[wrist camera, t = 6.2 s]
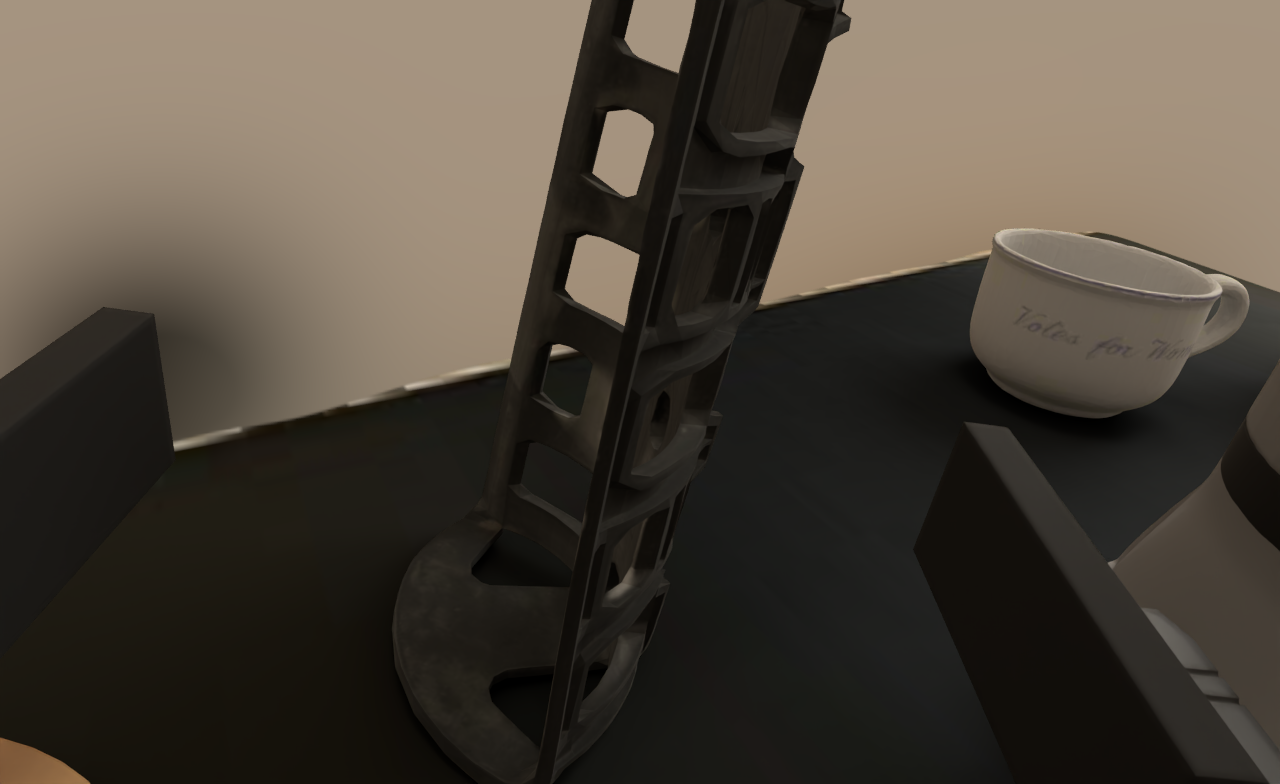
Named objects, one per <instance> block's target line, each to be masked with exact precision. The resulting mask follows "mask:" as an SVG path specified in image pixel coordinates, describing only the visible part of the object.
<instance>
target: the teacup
mask: <svg viewBox="0 0 1280 784" xmlns="http://www.w3.org/2000/svg"><path fill="white" fill-rule="evenodd" d="M1220 296H1221V304H1220V307H1219V309H1218V311H1217V313H1216V314H1215V316H1214V317H1213V318H1212V319H1211V320H1210V321H1209V322H1208V323H1207V324H1206V325H1204V323H1205V320H1206V318H1207V316H1208V314H1209V312H1210V309H1211V307H1212V305H1213V304H1214V302H1215V301H1216V300H1217V299H1218V298H1219V297H1220ZM1249 303H1250V302H1249V296H1248V293H1247V290H1246V288H1245V287H1244V286H1243V285H1242V284H1240V283H1239V282H1238V281H1237V280H1234V279H1232V278H1230V277H1227V276H1224V275H1221V274H1208V275H1206V274H1204V273H1202V272H1201V271H1199V270H1197V269H1195V268H1192V267H1190V266H1187V265H1185V264H1183V263H1181V262H1178V261H1175V260H1172V259H1170V258H1168V257H1166V256H1161V255H1158V254H1155V253H1152V252H1149V251H1146V250H1143V249H1139V248H1136V247H1132V246H1126V245H1123V244H1120V243H1116V242H1112V241H1108V240H1103V239H1097V238H1093V237H1088V236H1082V235H1078V234H1073V233H1066V232H1060V231H1052V230H1042V229H1028V228H1025V229H1018V228H1017V229H1006V230H1002V231H999V232H997V233H996V234H995V235H994V237H993V248H992V252H991V255H990V258H989V261H988V264H987V267H986V270H985V273H984V276H983V279H982V282H981V285H980V289H979V292H978V296H977V299H976V303H975V306H974V310H973V314H972V318H971V324H970V340H971V345H972V348H973V350H974V353H975V354H976V356H977V358H978V359H979V360H980V362H981V363H982V364H983V365H984V366H985V368H986V369H987V372H988V375H989V376H990V377H991V379H992V380H993V381H994V382H995V383H996V384H997V385H998V386H999V387H1000V388H1001V389H1003V390H1004V391H1006V392H1007V393H1009V394H1011V395H1012V396H1014V397H1016V398H1018V399H1020V400H1022V401H1024V402H1027V403H1029V404H1031V405H1034V406H1037V407H1040V408H1043V409H1046V410H1049V411H1053V412H1056V413H1060V414H1064V415H1070V416H1076V417H1084V418H1106V417H1111V416H1114V415H1117V414H1120V413H1121V412H1123V411H1127V410H1132V409H1136V408H1140V407H1143V406H1145V405H1148V404H1150V403H1152V402H1154V401H1156V400H1157V399H1159V398H1160V397H1161V396H1162V395H1163V394H1164V393H1165V392H1166V391H1167V390H1168V389H1169V388H1170V387H1171V385H1172V384H1173V383H1174V381H1175V380H1176V378H1177V376H1178V375H1179V373H1180V371H1181V369H1182V367H1183V366H1184V364H1185V362H1186V360H1187V358H1189V357H1192V356H1194V355H1197V354H1199V353H1202V352H1205V351H1207V350H1209V349H1211V348H1213V347H1215V346H1217V345H1219V344H1221V343H1223V342H1224V341H1225V340H1227V339H1228V338H1229V337H1231V336H1232V335H1233V334H1234V333H1235V332H1236V331H1237V330H1238V329H1239V328H1240V326H1241V325H1242V323H1243V321H1244V320H1245V318H1246V315H1247V312H1248V308H1249ZM1203 325H1204V326H1203Z"/></svg>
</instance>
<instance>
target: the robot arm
mask: <svg viewBox="0 0 1280 784" xmlns="http://www.w3.org/2000/svg"><path fill="white" fill-rule="evenodd" d="M174 461H175V453H174V446H173V440H172V433H171V426H170V419H169V412H168V406H167V399H166V392H165V385H164V378H163V372H162V365H161V358H160V351H159V344H158V338H157V331H156V324H155V317H154V314H151V313H144V312H136V311H128V310H121V309H114V308H105V307H103V308H101V309H100V310H98V311H97V312H96V313H94V314H93V315H91V316H90V317H88V318H87V319H86V320H84V321H83V322H81V323H80V324H78V325H77V326H75V327H74V328H73V329H71V330H70V331H68V332H67V333H65V334H64V335H63V336H61V337H60V338H58V339H57V340H55V341H54V342H53V343H51V344H50V345H48V346H47V347H45V348H44V349H43V350H41V351H40V352H38V353H37V354H36V355H34V356H33V357H31V358H30V359H28V360H27V361H25V362H24V363H23V364H21V365H20V366H18V367H17V368H15V369H14V370H13V371H11V372H10V373H8V374H7V375H5V376H4V377H3V378H1V379H0V658H1V657H2V656H3V655H4V654H5V653H6V652H7V651H8V649H9V648H10V647H11V646H12V645H13V644H14V643H15V641H16V640H17V639H18V638H19V637H20V636H21V635H22V633H23V632H24V631H25V630H26V629H27V628H28V627H29V626H30V624H31V623H32V622H33V621H34V620H35V619H36V618H37V616H38V615H39V614H40V613H41V612H42V611H43V610H44V609H45V607H46V606H47V605H48V604H49V603H50V602H51V601H52V599H53V598H54V597H55V596H56V595H57V594H58V593H59V591H60V590H61V589H62V588H63V587H64V586H65V585H66V584H67V582H68V581H69V580H70V579H71V578H72V577H73V576H74V574H75V573H76V572H77V571H78V570H79V569H80V568H81V567H82V565H83V564H84V563H85V562H86V561H87V560H88V559H89V557H90V556H91V555H92V554H93V553H94V552H95V551H96V549H97V548H98V547H99V546H100V545H101V544H102V543H103V542H104V540H105V539H106V538H107V537H108V536H109V535H110V534H111V532H112V531H113V530H114V529H115V528H116V527H117V526H118V524H119V523H120V522H121V521H122V520H123V519H124V518H125V517H126V515H127V514H128V513H129V512H130V511H131V510H132V509H133V507H134V506H135V505H136V504H137V503H138V502H139V501H140V500H141V498H142V497H143V496H144V495H145V494H146V493H147V492H148V490H149V489H150V488H151V487H152V486H153V485H154V484H155V482H156V481H157V480H158V479H159V478H160V477H161V476H162V475H163V473H164V472H165V471H166V470H167V469H168V468H169V467H170V465H171V464H172V463H173V462H174ZM913 550H914V552H915V554H916V557H917V559H918V561H919V564H920V566H921V568H922V570H923V573H924V575H925V577H926V580H927V582H928V584H929V586H930V589H931V591H932V593H933V596H934V598H935V600H936V602H937V605H938V607H939V609H940V611H941V614H942V616H943V618H944V621H945V623H946V625H947V627H948V630H949V632H950V634H951V637H952V639H953V641H954V643H955V646H956V648H957V650H958V653H959V655H960V657H961V659H962V662H963V664H964V666H965V668H966V671H967V673H968V675H969V678H970V680H971V682H972V684H973V687H974V689H975V691H976V694H977V696H978V698H979V700H980V703H981V705H982V707H983V710H984V712H985V714H986V716H987V719H988V721H989V723H990V725H991V728H992V730H993V732H994V735H995V737H996V739H997V741H998V744H999V746H1000V748H1001V751H1002V753H1003V755H1004V757H1005V760H1006V762H1007V764H1008V767H1009V769H1010V771H1011V773H1012V776H1013V778H1014V780H1015V782H1016V784H1280V360H1279V361H1278V363H1277V365H1276V367H1275V368H1274V370H1273V372H1272V373H1271V375H1270V377H1269V378H1268V380H1267V382H1266V383H1265V385H1264V387H1263V388H1262V390H1261V392H1260V393H1259V395H1258V397H1257V398H1256V400H1255V402H1254V403H1253V405H1252V406H1251V408H1250V410H1249V412H1248V414H1247V416H1246V418H1245V419H1244V421H1243V423H1242V424H1241V426H1240V428H1239V429H1238V431H1237V433H1236V434H1235V436H1234V438H1233V439H1232V441H1231V443H1230V445H1229V446H1228V448H1227V450H1226V451H1225V453H1224V455H1223V456H1222V458H1221V460H1220V461H1219V463H1218V464H1217V466H1216V468H1215V469H1214V471H1213V472H1212V473H1211V475H1210V476H1209V477H1208V478H1207V480H1206V481H1204V482H1203V483H1202V484H1201V485H1200V486H1199V487H1197V488H1196V489H1195V490H1194V491H1193V492H1191V493H1190V494H1189V495H1187V496H1186V497H1185V498H1184V499H1182V500H1181V501H1180V502H1178V503H1177V504H1176V505H1175V506H1174V507H1172V508H1171V509H1170V510H1169V511H1168V512H1166V513H1165V514H1164V515H1163V516H1162V517H1160V518H1159V519H1158V520H1157V521H1156V522H1155V523H1153V524H1152V525H1151V526H1150V527H1149V528H1148V529H1147V530H1145V531H1144V532H1143V533H1142V534H1141V535H1140V536H1139V537H1138V538H1137V539H1136V540H1135V541H1134V542H1133V543H1132V544H1131V545H1130V546H1129V547H1128V548H1127V549H1126V550H1125V551H1124V552H1123V554H1122V555H1121V556H1120V557H1119V558H1118V559H1117V560H1114V561H1111V562H1108V563H1107V562H1106V560H1105V559H1104V558H1103V556H1102V555H1101V553H1100V552H1099V551H1098V549H1097V548H1096V547H1095V545H1094V544H1093V543H1092V541H1091V540H1090V538H1089V537H1088V536H1087V534H1086V533H1085V532H1084V530H1083V529H1082V528H1081V526H1080V525H1079V524H1078V522H1077V521H1076V519H1075V518H1074V517H1073V515H1072V514H1071V513H1070V511H1069V510H1068V509H1067V507H1066V506H1065V505H1064V503H1063V502H1062V500H1061V499H1060V498H1059V496H1058V495H1057V494H1056V492H1055V491H1054V490H1053V488H1052V487H1051V486H1050V484H1049V483H1048V481H1047V480H1046V479H1045V477H1044V476H1043V475H1042V473H1041V472H1040V471H1039V469H1038V468H1037V466H1036V465H1035V464H1034V462H1033V461H1032V460H1031V458H1030V457H1029V456H1028V454H1027V453H1026V452H1025V450H1024V449H1023V447H1022V446H1021V445H1020V443H1019V442H1018V441H1017V439H1016V438H1015V437H1014V435H1013V434H1012V433H1011V431H1010V430H1009V428H1007V427H1000V426H992V425H985V424H977V423H970V422H964V423H963V425H962V428H961V430H960V433H959V435H958V438H957V440H956V443H955V445H954V448H953V450H952V453H951V455H950V458H949V461H948V463H947V466H946V468H945V471H944V473H943V476H942V478H941V481H940V483H939V486H938V488H937V491H936V493H935V496H934V498H933V501H932V503H931V506H930V508H929V511H928V513H927V516H926V518H925V521H924V523H923V526H922V529H921V531H920V534H919V536H918V539H917V541H916V544H915V546H914V549H913Z"/></svg>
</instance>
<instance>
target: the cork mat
mask: <svg viewBox="0 0 1280 784" xmlns="http://www.w3.org/2000/svg"><path fill="white" fill-rule="evenodd" d="M0 784H90V783H89V781H88V780H86V779H85V778H84V777H82V776H81V775H80V774H78V773H77V772H75V771H74V770H73V769H71V768H70V767H69V766H67V765H66V764H65V763H63V762H62V761H60V760H57V759H55V758H53V757H51V756H49V755H47V754H45V753H43V752H41V751H39V750H37V749H35V748H33V747H30V746H26V745H23V744H20V743H16V742H13V741H10V740H7V739H3V738H0Z"/></svg>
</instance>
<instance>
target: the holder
mask: <svg viewBox="0 0 1280 784" xmlns="http://www.w3.org/2000/svg"><path fill="white" fill-rule="evenodd" d="M633 1H634V0H592V2H591V6H590V10H589V15H588V19H587V23H586V28H585V32H584V36H583V41H582V45H581V49H580V53H579V58H578V62H577V67H576V71H575V75H574V80H573V84H572V89H571V93H570V97H569V102H568V106H567V110H566V114H565V119H564V123H563V128H562V133H561V137H560V142H559V146H558V151H557V156H556V161H555V165H554V169H553V174H552V178H551V182H550V186H549V191H548V196H547V201H546V206H545V210H544V214H543V218H542V223H541V228H540V232H539V236H538V241H537V246H536V250H535V255H534V259H533V264H532V269H531V273H530V278H529V283H528V287H527V291H526V296H525V300H524V304H523V308H522V313H521V317H520V322H519V327H518V331H517V336H516V341H515V345H514V350H513V354H512V359H511V364H510V369H509V374H508V378H507V382H506V387H505V391H504V395H503V400H502V405H501V409H500V414H499V419H498V424H497V428H496V433H495V438H494V442H493V447H492V452H491V458H490V463H489V468H488V472H487V477H486V481H485V485H484V490H483V494H482V497H481V498H480V500H479V502H478V504H477V505H476V506H475V507H474V508H473V509H472V510H471V511H470V512H469V513H468V514H467V515H466V516H465V517H464V518H463V519H461V520H460V521H458V522H456V523H454V524H453V525H451V526H450V527H448V528H446V529H445V530H444V531H442V532H441V533H439V534H438V535H437V536H435V537H434V538H433V539H432V540H431V541H430V542H429V543H428V544H427V545H426V546H425V547H424V548H423V549H422V550H421V551H420V552H419V553H418V554H417V555H416V557H415V558H414V559H413V560H412V562H411V564H410V566H409V568H408V570H407V572H406V574H405V576H404V578H403V580H402V583H401V586H400V589H399V592H398V595H397V600H396V605H395V610H394V616H393V624H392V634H393V648H394V661H395V668H396V671H397V673H398V676H399V678H400V681H401V683H402V685H403V688H404V690H405V693H406V695H407V698H408V700H409V703H410V705H411V707H412V710H413V712H414V714H415V716H416V717H417V718H418V720H419V721H420V722H421V724H422V725H423V726H424V727H425V729H426V730H427V731H428V733H429V734H430V735H431V737H432V738H433V739H434V741H435V742H436V743H437V744H438V746H439V747H440V748H441V750H442V751H443V752H444V754H445V755H447V756H448V757H449V758H450V759H451V760H452V761H453V762H454V763H455V764H457V765H458V766H459V767H460V768H461V769H462V770H463V771H464V772H465V773H467V774H468V775H469V776H470V777H471V778H472V779H474V780H475V781H476V782H477V783H478V784H553V783H554V781H555V780H556V779H557V778H558V777H559V776H560V774H561V773H562V771H563V770H564V769H565V768H566V767H567V766H569V765H570V764H571V763H572V762H574V761H575V760H576V759H577V758H579V757H580V756H581V755H582V754H584V753H585V752H586V751H587V750H588V749H589V748H590V747H591V746H592V745H593V744H594V743H595V741H596V740H597V739H598V738H599V737H600V736H601V735H602V734H603V733H604V731H605V730H606V729H607V728H608V726H609V725H610V724H611V723H612V721H613V720H614V718H615V716H616V715H617V713H618V711H619V710H620V708H621V706H622V705H623V703H624V701H625V699H626V697H627V695H628V693H629V691H630V689H631V687H632V683H633V680H634V676H635V673H636V669H637V662H638V660H639V657H640V656H641V655H642V653H643V652H644V651H645V650H646V649H647V648H648V646H649V644H650V641H651V638H652V635H653V632H654V630H655V627H656V624H657V621H658V618H659V616H660V613H661V610H662V607H663V604H664V601H665V598H666V595H667V592H668V589H669V586H670V583H669V582H668V580H667V579H666V578H663V575H664V572H665V569H662V567H663V565H664V564H665V562H666V560H667V558H668V556H669V554H670V552H671V550H672V545H673V537H674V533H675V530H676V526H677V523H678V520H679V517H680V514H681V511H682V508H683V505H684V502H685V499H686V496H687V493H688V489H689V486H690V483H691V482H692V480H693V479H694V478H695V477H696V476H697V475H698V474H699V473H700V472H701V471H702V470H703V469H704V468H705V465H706V462H707V460H708V457H709V454H710V451H711V449H712V446H713V443H714V440H715V438H716V435H717V432H718V429H719V426H720V424H721V421H722V418H723V415H721V414H720V413H719V412H717V411H712V410H711V409H712V407H713V404H714V401H715V399H716V396H717V393H718V390H719V388H720V385H721V382H722V378H723V375H724V371H725V367H726V364H727V360H728V356H729V352H730V349H731V345H732V341H733V339H734V337H735V335H736V331H737V328H738V325H739V324H740V323H741V322H742V321H743V320H745V319H746V318H747V317H748V316H749V315H750V314H751V313H752V312H753V311H754V310H755V309H756V308H757V307H758V305H759V302H760V299H761V296H762V293H763V290H764V287H765V284H766V281H767V278H768V275H769V272H770V269H771V266H772V263H773V260H774V257H775V254H776V252H777V249H778V245H779V242H780V239H781V236H782V233H783V230H784V227H785V224H786V221H787V218H788V215H789V212H790V209H791V206H792V203H793V200H794V197H795V194H796V190H797V187H798V184H799V181H800V178H801V175H802V172H803V169H804V166H803V165H802V164H800V163H799V162H798V161H797V160H796V159H795V158H794V153H793V151H794V148H795V144H796V141H797V138H798V135H799V131H800V128H801V124H802V121H803V117H804V114H805V111H806V108H807V105H808V102H809V99H810V96H811V94H812V90H813V88H814V85H815V82H816V79H817V76H818V73H819V69H820V66H821V63H822V60H823V56H824V53H825V50H826V47H827V44H828V43H829V42H830V41H831V40H832V39H834V38H835V37H837V36H839V35H841V34H843V33H845V32H847V31H849V28H850V22H851V18H850V17H849V16H847V15H846V14H845V13H843V12H842V7H843V3H844V0H696V3H695V9H694V14H693V19H692V24H691V28H690V33H689V38H688V41H687V45H686V48H685V51H684V55H683V58H682V62H681V65H680V70H679V73H677V72H674V71H671V70H668V69H665V68H662V67H660V66H658V65H655V64H653V63H651V62H648V61H646V60H643V59H641V58H639V57H637V56H636V55H634V54H633V53H632V51H631V50H630V48H629V46H628V45H627V43H626V42H625V40H624V38H625V34H626V30H627V26H628V21H629V17H630V14H631V9H632V5H633ZM627 109H629V110H632V111H634V112H637V113H639V114H641V115H643V116H644V117H645V118H646V119H648V120H649V121H650V122H651V123H653V124H654V135H653V138H652V141H651V145H650V148H649V151H648V155H647V159H646V163H645V166H644V170H643V174H642V177H641V180H640V184H639V188H638V191H637V194H636V195H634V196H631V197H625V196H622V195H620V194H619V193H617V192H616V191H615V190H613V189H612V188H611V187H609V186H608V185H607V184H606V183H604V182H603V181H602V180H600V179H599V178H598V177H596V176H595V175H594V174H593V173H592V172H593V168H594V164H595V160H596V155H597V151H598V147H599V143H600V139H601V135H602V131H603V127H604V123H605V119H606V115H607V112H609V111H617V110H627ZM586 234H588V235H592V236H597V237H601V238H604V239H606V240H609V241H611V242H614V243H616V244H618V245H620V246H622V247H624V248H627V249H629V250H631V251H633V252H635V253H638V254H639V255H640V257H639V263H638V267H637V271H636V275H635V279H634V284H633V288H632V292H631V296H630V301H629V306H628V314H627V319H626V323H625V326H623V325H621V324H619V323H618V322H616V321H614V320H612V319H610V318H608V317H606V316H604V315H601V314H599V313H597V312H595V311H593V310H591V309H589V308H587V307H585V306H583V305H581V304H580V303H577V302H575V301H574V300H573V298H572V297H571V296H570V295H569V294H568V292H567V291H566V290H565V285H566V281H567V277H568V273H569V269H570V264H571V260H572V256H573V252H574V249H575V245H576V241H577V238H579V237H581V236H584V235H586ZM556 344H562V345H565V346H569V347H571V348H573V349H575V350H577V351H579V352H581V353H583V354H585V355H586V357H587V358H588V359H589V361H590V362H591V364H592V365H593V367H592V371H591V375H590V379H589V383H588V387H587V392H586V396H585V400H584V404H583V407H582V411H581V415H577V416H575V415H573V414H571V413H569V412H567V411H564V410H562V409H560V408H558V407H557V406H556V405H555V404H554V403H553V402H552V401H551V400H550V399H549V398H548V397H547V396H546V395H545V394H544V393H543V392H542V390H543V385H544V381H545V376H546V372H547V367H548V363H549V359H550V354H551V350H552V345H556ZM534 442H538V443H541V444H543V445H546V446H549V447H551V448H553V449H555V450H557V451H559V452H561V453H562V454H564V455H566V456H568V457H570V458H571V459H573V460H574V461H576V462H577V463H579V464H580V465H582V466H583V467H585V468H586V469H587V470H589V471H590V472H591V473H592V474H593V475H592V480H591V485H590V489H589V494H588V498H587V503H586V508H585V512H584V517H583V522H582V523H580V522H579V521H578V520H576V519H574V518H573V517H571V516H570V515H568V514H566V513H565V512H563V511H561V510H559V509H558V508H556V507H554V506H553V505H551V504H549V503H547V502H546V501H544V500H542V499H540V498H538V497H536V496H535V495H533V494H531V493H530V492H529V491H528V490H527V489H526V488H525V487H524V486H523V485H522V484H521V479H522V474H523V470H524V465H525V461H526V456H527V452H528V447H529V443H534ZM504 529H507V530H509V531H512V532H514V533H517V534H519V535H522V536H524V537H526V538H528V539H530V540H532V541H534V542H536V543H538V544H539V545H541V546H542V547H544V548H545V549H547V550H548V551H550V552H551V553H552V554H554V555H555V556H556V557H558V558H559V559H560V560H561V561H562V562H563V563H564V564H566V565H567V566H568V567H569V568H570V569H571V570H572V571H573V572H572V577H571V582H570V587H529V586H497V585H488V584H484V583H481V582H480V581H479V580H478V579H477V578H475V577H474V576H473V575H472V574H471V568H472V567H473V566H474V565H475V564H476V563H477V561H478V560H479V559H480V558H481V557H482V556H483V555H484V553H485V552H486V551H487V550H488V549H489V548H490V546H491V545H492V544H493V543H494V542H495V541H496V540H497V539H498V538H499V536H500V535H501V534H502V532H503V530H504ZM605 668H608V669H607V671H606V673H605V674H604V676H603V677H602V679H601V681H600V682H599V684H598V686H597V687H596V688H595V689H594V690H593V691H592V692H591V693H590V694H589V695H588V697H587V698H586V699H585V700H584V701H583V702H582V698H583V694H584V689H585V684H586V679H587V674H588V671H591V670H598V669H605ZM549 674H554V676H553V681H552V687H551V693H550V699H549V704H548V710H547V715H546V720H545V726H544V731H543V736H542V742H541V747H540V748H539V747H537V746H536V745H535V744H534V743H533V742H532V741H531V740H530V739H529V738H528V737H527V736H526V735H525V734H524V733H523V732H521V731H520V730H519V729H518V728H517V727H516V726H515V725H514V724H513V723H512V722H511V721H510V720H509V719H508V718H507V717H506V716H505V715H504V714H503V713H502V712H501V711H500V710H499V709H498V708H497V707H496V706H495V705H494V704H493V702H492V701H491V697H490V693H489V690H490V688H491V686H492V685H494V684H496V683H498V682H500V681H502V680H504V679H506V678H516V677H527V676H538V675H549Z"/></svg>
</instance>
